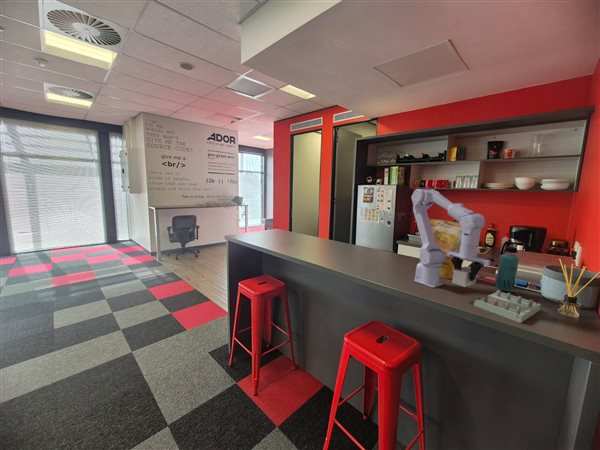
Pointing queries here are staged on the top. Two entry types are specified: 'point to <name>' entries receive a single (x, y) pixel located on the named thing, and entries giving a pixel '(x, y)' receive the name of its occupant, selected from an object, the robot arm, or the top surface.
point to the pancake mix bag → (447, 242)
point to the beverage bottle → (507, 270)
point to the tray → (508, 306)
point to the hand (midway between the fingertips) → (464, 278)
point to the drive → (463, 276)
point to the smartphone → (486, 278)
